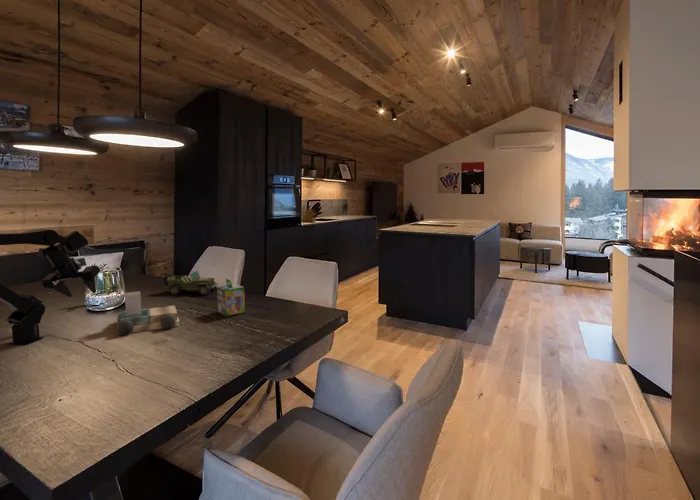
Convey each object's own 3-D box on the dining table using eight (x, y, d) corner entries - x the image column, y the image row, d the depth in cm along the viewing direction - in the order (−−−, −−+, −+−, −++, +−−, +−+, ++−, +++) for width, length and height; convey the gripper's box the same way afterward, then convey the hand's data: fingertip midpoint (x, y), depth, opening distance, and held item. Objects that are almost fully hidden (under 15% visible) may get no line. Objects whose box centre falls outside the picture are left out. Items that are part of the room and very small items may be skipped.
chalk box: (245, 313, 162) (244, 279, 160) (224, 316, 156) (223, 282, 154) (237, 308, 169) (236, 276, 167) (216, 311, 163) (215, 278, 161)
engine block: (126, 324, 139) (124, 295, 137) (126, 320, 143) (125, 292, 141) (142, 322, 141) (140, 294, 140) (141, 318, 145) (140, 291, 144)
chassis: (117, 336, 132) (116, 322, 131) (118, 322, 147) (118, 309, 147) (180, 327, 142) (179, 314, 141) (175, 314, 158) (175, 303, 157)
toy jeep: (211, 295, 191) (211, 274, 189) (162, 295, 190) (161, 274, 188) (219, 290, 203) (218, 270, 201) (172, 289, 202) (171, 270, 200)
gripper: (96, 244, 141) (116, 278, 149) (48, 253, 141) (70, 286, 149) (81, 260, 132) (103, 294, 140) (29, 269, 132) (54, 303, 140)
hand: (82, 294), depth 142 cm, fingers open, 9 cm apart
